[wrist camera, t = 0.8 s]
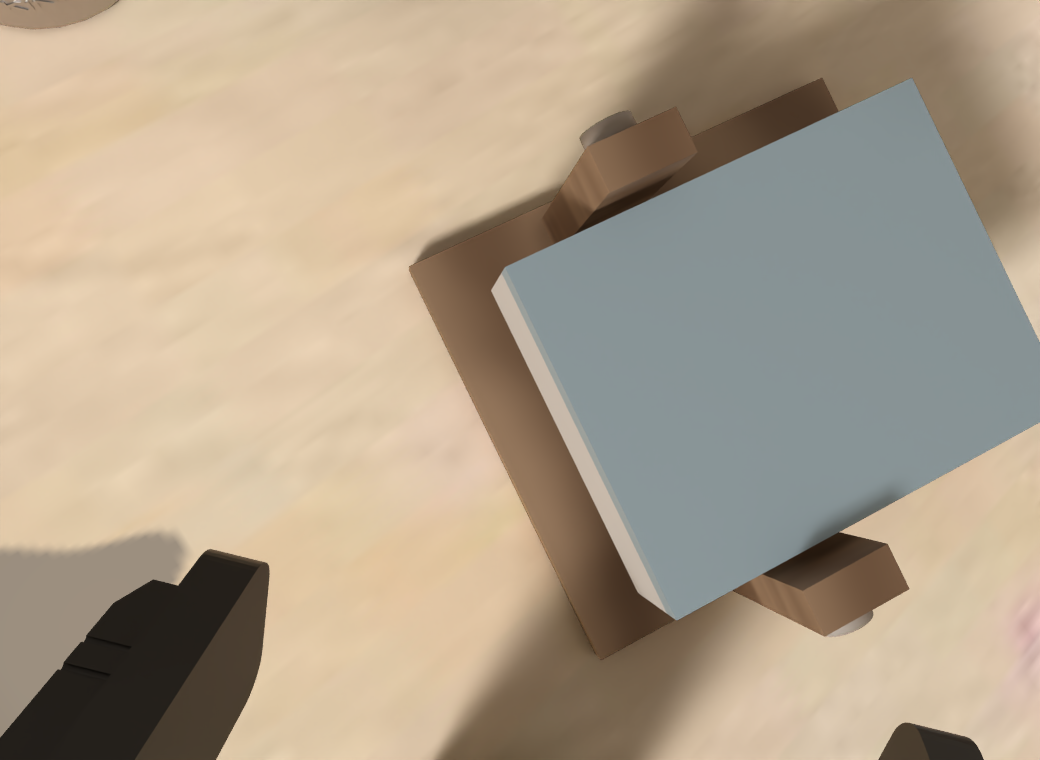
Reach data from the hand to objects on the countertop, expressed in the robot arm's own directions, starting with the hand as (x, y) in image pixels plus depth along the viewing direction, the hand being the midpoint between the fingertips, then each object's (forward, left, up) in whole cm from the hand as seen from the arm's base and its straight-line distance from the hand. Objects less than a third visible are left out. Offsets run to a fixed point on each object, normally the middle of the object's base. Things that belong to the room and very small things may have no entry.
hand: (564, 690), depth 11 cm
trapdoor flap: (-1, +12, -20) cm, 23 cm away
